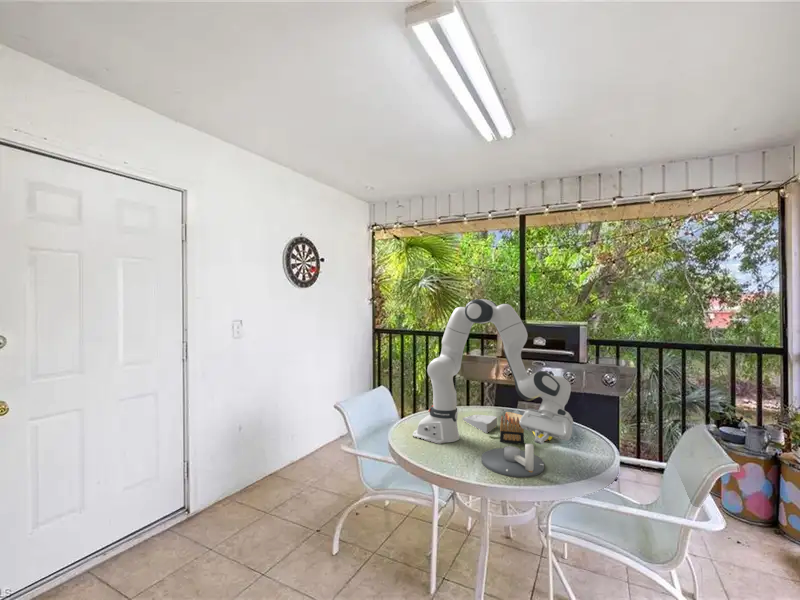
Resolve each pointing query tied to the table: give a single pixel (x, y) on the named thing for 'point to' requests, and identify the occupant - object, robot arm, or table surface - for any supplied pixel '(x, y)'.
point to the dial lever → (514, 456)
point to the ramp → (482, 422)
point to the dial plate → (509, 464)
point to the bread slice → (513, 416)
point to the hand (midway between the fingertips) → (538, 442)
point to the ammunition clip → (511, 431)
